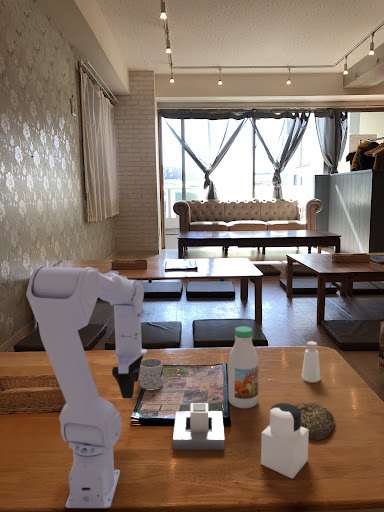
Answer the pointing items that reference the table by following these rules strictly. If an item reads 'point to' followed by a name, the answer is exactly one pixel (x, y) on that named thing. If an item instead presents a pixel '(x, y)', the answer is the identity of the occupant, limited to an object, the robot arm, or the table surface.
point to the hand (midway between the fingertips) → (130, 389)
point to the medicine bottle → (284, 441)
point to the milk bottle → (243, 370)
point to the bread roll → (316, 420)
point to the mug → (151, 373)
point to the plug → (199, 417)
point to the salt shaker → (311, 363)
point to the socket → (198, 433)
